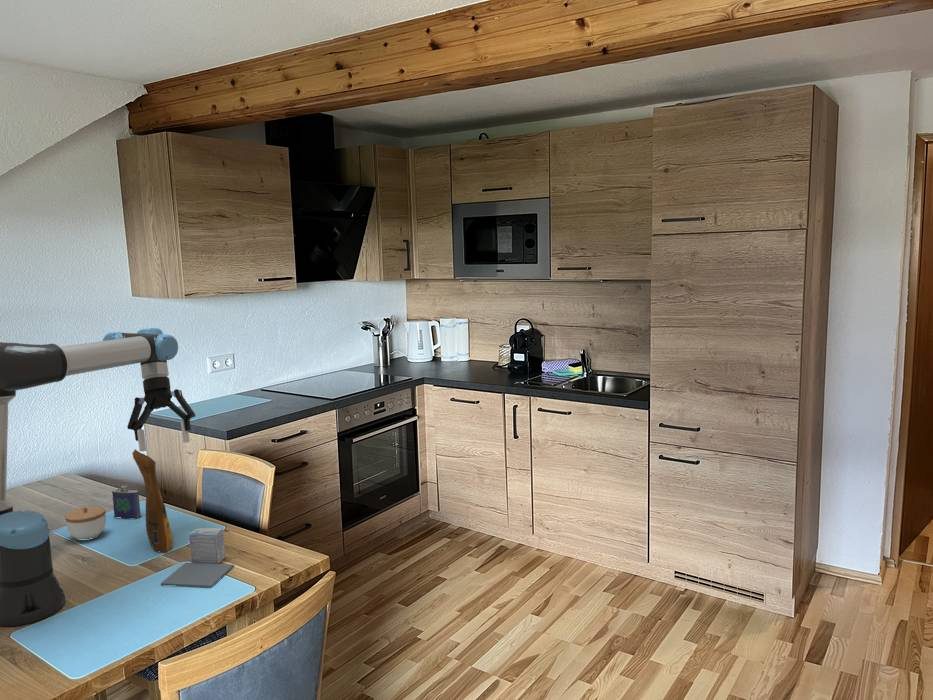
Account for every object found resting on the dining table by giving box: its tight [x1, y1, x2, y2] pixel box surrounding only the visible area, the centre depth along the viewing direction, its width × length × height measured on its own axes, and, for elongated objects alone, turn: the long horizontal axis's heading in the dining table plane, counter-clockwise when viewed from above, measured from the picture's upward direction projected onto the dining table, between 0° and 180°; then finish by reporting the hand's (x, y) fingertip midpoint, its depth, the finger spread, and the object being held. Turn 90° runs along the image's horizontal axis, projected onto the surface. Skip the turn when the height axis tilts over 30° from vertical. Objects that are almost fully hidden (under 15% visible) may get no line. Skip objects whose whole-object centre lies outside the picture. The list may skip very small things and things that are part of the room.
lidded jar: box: [65, 506, 107, 540], centre depth 211 cm, size 11×11×9 cm
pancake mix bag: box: [132, 448, 173, 553], centre depth 203 cm, size 7×19×28 cm, turn 34°
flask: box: [111, 484, 142, 519], centre depth 226 cm, size 9×3×11 cm, turn 79°
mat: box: [160, 561, 235, 588], centre depth 183 cm, size 12×14×1 cm
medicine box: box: [188, 527, 226, 564], centre depth 192 cm, size 8×4×9 cm, turn 84°
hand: (164, 446), depth 210 cm, fingers open, 13 cm apart
